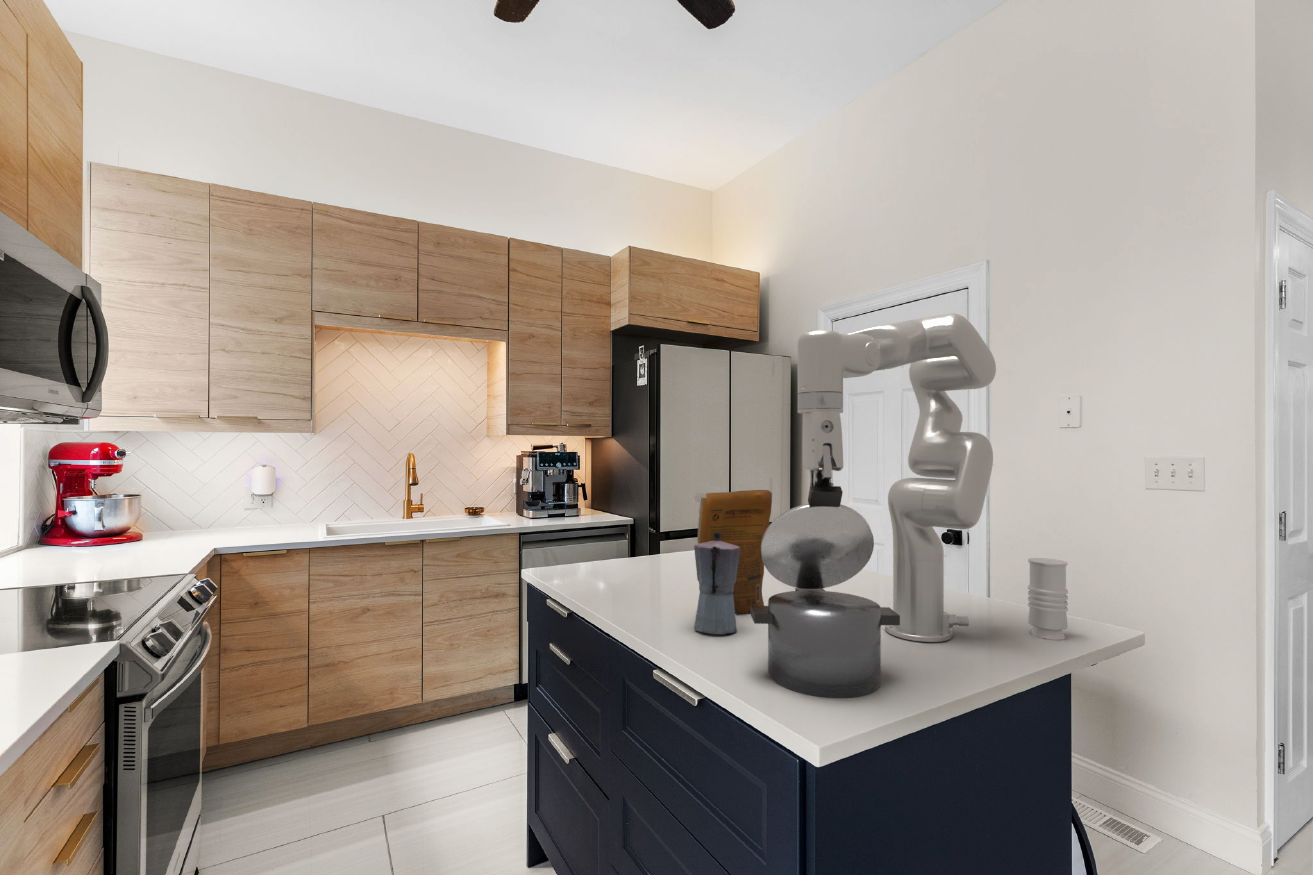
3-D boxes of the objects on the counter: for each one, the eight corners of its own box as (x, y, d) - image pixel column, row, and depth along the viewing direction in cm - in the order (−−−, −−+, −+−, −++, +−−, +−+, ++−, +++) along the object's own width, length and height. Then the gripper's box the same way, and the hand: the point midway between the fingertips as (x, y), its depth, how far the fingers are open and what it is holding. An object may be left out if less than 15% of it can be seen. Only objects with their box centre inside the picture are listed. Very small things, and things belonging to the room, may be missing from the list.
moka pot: (738, 620, 134) (739, 528, 134) (741, 643, 119) (741, 539, 119) (694, 619, 135) (695, 528, 135) (691, 641, 120) (692, 538, 120)
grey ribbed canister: (1068, 634, 126) (1068, 560, 126) (1067, 642, 120) (1066, 565, 120) (1029, 628, 130) (1029, 556, 130) (1026, 636, 124) (1026, 561, 124)
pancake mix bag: (778, 613, 140) (779, 490, 141) (700, 619, 135) (701, 491, 135) (765, 605, 147) (765, 488, 147) (690, 611, 141) (690, 489, 141)
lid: (757, 588, 112) (755, 574, 115) (863, 589, 112) (858, 575, 115) (767, 491, 100) (765, 478, 103) (886, 492, 100) (880, 479, 103)
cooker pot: (873, 654, 113) (873, 588, 113) (915, 699, 93) (915, 619, 93) (744, 652, 113) (745, 587, 114) (759, 696, 94) (760, 617, 94)
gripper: (855, 401, 97) (855, 517, 97) (831, 407, 112) (831, 507, 112) (807, 401, 98) (807, 517, 98) (790, 407, 113) (790, 507, 113)
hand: (820, 511), depth 105 cm, fingers closed
